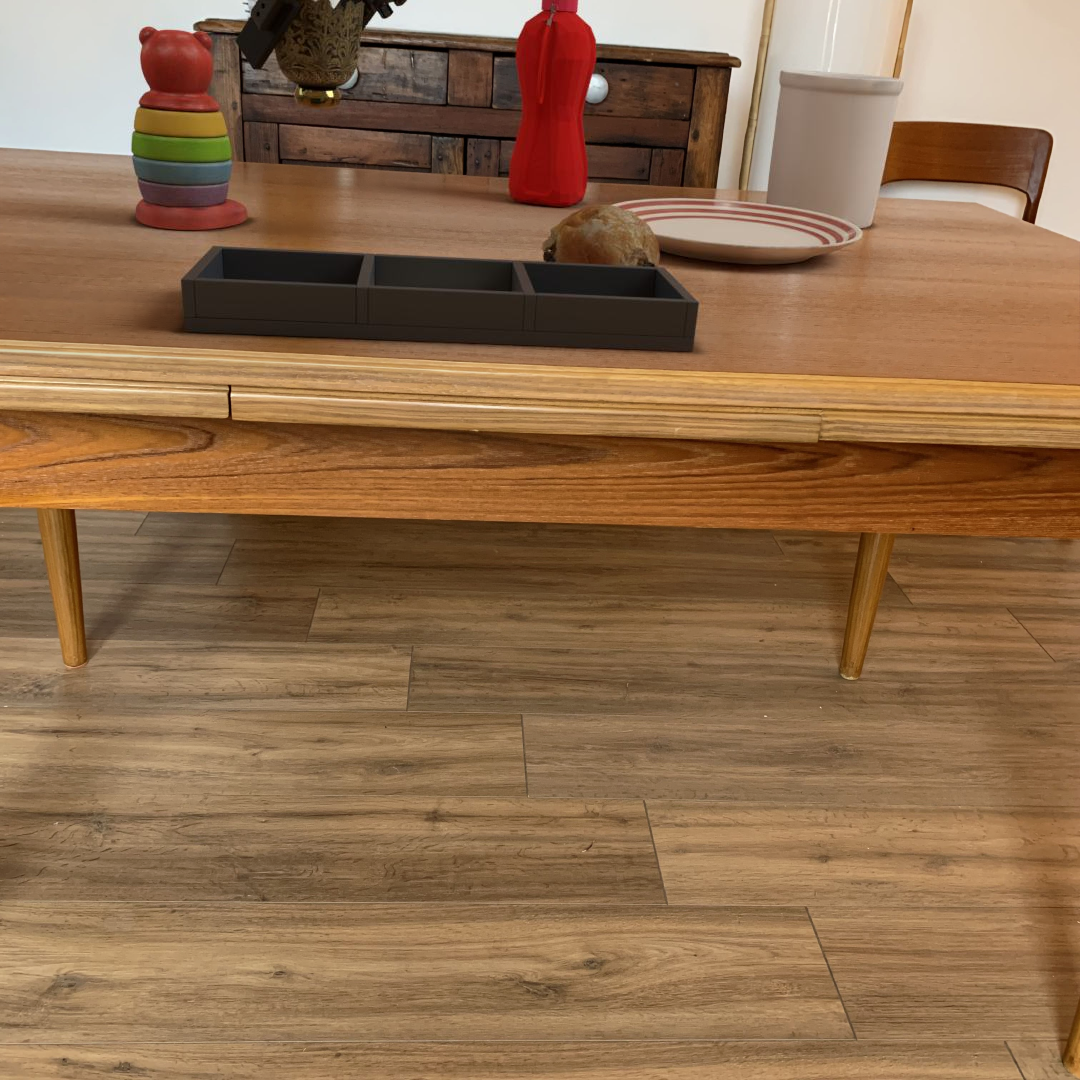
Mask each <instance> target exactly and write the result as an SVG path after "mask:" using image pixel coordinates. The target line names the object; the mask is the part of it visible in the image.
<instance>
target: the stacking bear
mask: <svg viewBox="0 0 1080 1080" xmlns="http://www.w3.org/2000/svg"><path fill="white" fill-rule="evenodd" d="M138 41H139V43H140V44H141V48H140V52H139V53H140V55H139V62H140V68H141V73H142V75H143V77H144V80H145V82H146V84H147V85H148V87H149V90H148V91H146V92H144V93H143V94H142V96H141V97H140V98H139V100H138V104H139V106H138V107H137V108H136V110H135V114H134V119H133V129H134V130H133V131H132V132H131V133H132V134H131V148H130V151H131V153H132V156H131V159H132V165H133V169H134V173H135V176H136V178H137V185H138V188H139V192H140V195H141V197H142V199H140V200H139V201H138V202H137V204H136V206H135V219H136V220H137V221H138V222H140V223H141V224H143V225H145V226H148V227H152V228H157V229H165V230H177V231H205V230H215V229H221V228H222V229H223V228H224V229H225V228H228V227H233V226H238V225H239V224H242V223H244V222H245V221H247V219H248V210H247V207H246V206H245V205H244V204H242V203H241V202H240V201H236V200H234V199H231V198H228V192H229V186H230V181H231V179H232V178H231V177H232V170H233V162H232V156H233V153H232V152H233V151H232V145H231V140H230V137H229V136H228V135H227V134H228V129H227V125H226V120H225V117H224V114H223V113H222V112H221V111H220V110H219V109H220V105H219V103H217V101H216V99H214V97H212V96H211V95H209V94H208V93H207V91H208V90H209V88H210V86H211V82H212V81H213V80H212V79H213V74H214V60H213V57H212V53H211V49H212V47H213V41H212V38H211V36H210V35H209V34H208V33H207V32H206V31H203V30H197V31H195V32H193V33H192V32H189V31H186V30H180V29H160V30H158V29H156V28H155V27H153V26H145V27H143V28H141V29H140V31H139V32H138Z"/></svg>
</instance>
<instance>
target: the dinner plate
mask: <svg viewBox="0 0 1080 1080" xmlns="http://www.w3.org/2000/svg"><path fill="white" fill-rule="evenodd" d="M611 205H612V206H616V207H619V208H621V209H623V210H625V211H626V210H629V211H633V212H634V213H636V214H637V217H639V218H640V219H642V220H644V221H645V222H646V223H647V224H648V225H649V226H650V228H651V230H652V231H653V233H654V235H655V236H656V239H657V242H658V245H659V251H661V252H664V253H667V254H671V255H675V256H680V257H684V258H688V259H695V260H701V261H709V262H710V261H711V262H718V263H725V264H727V263H728V264H738V265H739V264H741V265H785V264H794V263H800V262H804V261H807V260H809V259H811V258H812V257H818V256H822V255H825V254H829V253H833V252H836V251H839V250H842V249H844V248H846V247H849V246H851V245H853V244H855V243H856V242H858V241H859V240H860V239H861V238H862V237H863V235H864V233H863V230H862V228H858V227H857V226H856V225H854V224H852V223H850V222H848V221H845V220H842V219H840V218H837V217H834V216H830V215H826V214H822V213H818V212H813V211H809V210H803V209H797V208H791V207H784V206H778V205H769V204H766V203H759V202H752V201H751V202H750V201H741V200H740V201H739V200H726V199H714V198H713V199H711V198H710V199H709V198H689V197H688V198H686V197H685V198H684V197H674V198H673V197H664V198H643V199H635V200H627V201H622V202H617V203H614V204H611Z"/></svg>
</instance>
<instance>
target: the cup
mask: <svg viewBox="0 0 1080 1080" xmlns="http://www.w3.org/2000/svg"><path fill="white" fill-rule="evenodd" d="M297 1H298V3H299V5H300V6H301V9H300V10H299V12H298V13H297V15H296V16H295V18H294V19H293V21H292V22H291V24H290V25H289V27H288V28H287V30H286V31H285V33H284V35H283V36H282V38H281V39H280V41H279V42H278V44H277V45H276V47H275V48H274V50H273V51H274V54H275V58H276V62H277V65H278V67H279V70H280V71H281V73H282V74H283V76H285V78H287V80H289V82H291V83H293V84H295V85H296V88H295V89H294V93H293V96H294V99H295V102H296V103H297V104H298V105H299V106H301V107H305V108H313V109H335V108H337V107H338V106H339V105H340V102H341V100H342V95H341V92H340V89H339V87H341V86H344V85H345V84H347V83H348V82H349V81H351V79H352V78H353V76H354V74H355V72H356V69H357V66H358V62H359V57H360V50H361V40H362V32H363V31H362V22H363V12H364V8H363V7H364V6H365V3H363V2H362V1H361V2H359V3H357V4H354V2H352V1H351V0H350V1H349V2H347V3H346V5H345V8H344V7H343V5H342V3H341V1H340V0H339V1H340V2H339V1H338V2H339V3H338V2H337V4H338V5H337V4H336V5H337V7H336V6H335V7H336V8H335V7H333V6H332V5H333V4H332V2H331V1H330V0H316V1H315V0H297ZM363 5H364V6H363ZM334 8H335V9H334Z"/></svg>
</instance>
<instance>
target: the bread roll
mask: <svg viewBox="0 0 1080 1080" xmlns="http://www.w3.org/2000/svg"><path fill="white" fill-rule="evenodd" d="M612 205H613V204H594V205H589V206H586V207H584V208H583V207H582V209H578V210H577V211H574V212H572V213H570V214H569V215H568V216H566V217H565V218H563V219H562V220H561V221H560V222H559V223H558V224H556V226H553V227H552V228H551V229H550V235H549V236H548V237H547V239H546V240H544V241H543V243H542V246H541V250H542V252H543V255H542V258H543V262H560V263H581V264H602V265H623V266H644V267H659V264H660V259H661V252H660V251H661V250H659V245H658V242H657V239H656V236H655V235H654V233H653V231H652V230H651V228H650V226H649V225H648V224H647V223H646V222H645V221H644V220H642V219H640V218H639V217H637V214H636V213H634V212H633V211H629V210H626V211H625V210H623V209H621V208H619V207H616V206H612Z"/></svg>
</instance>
